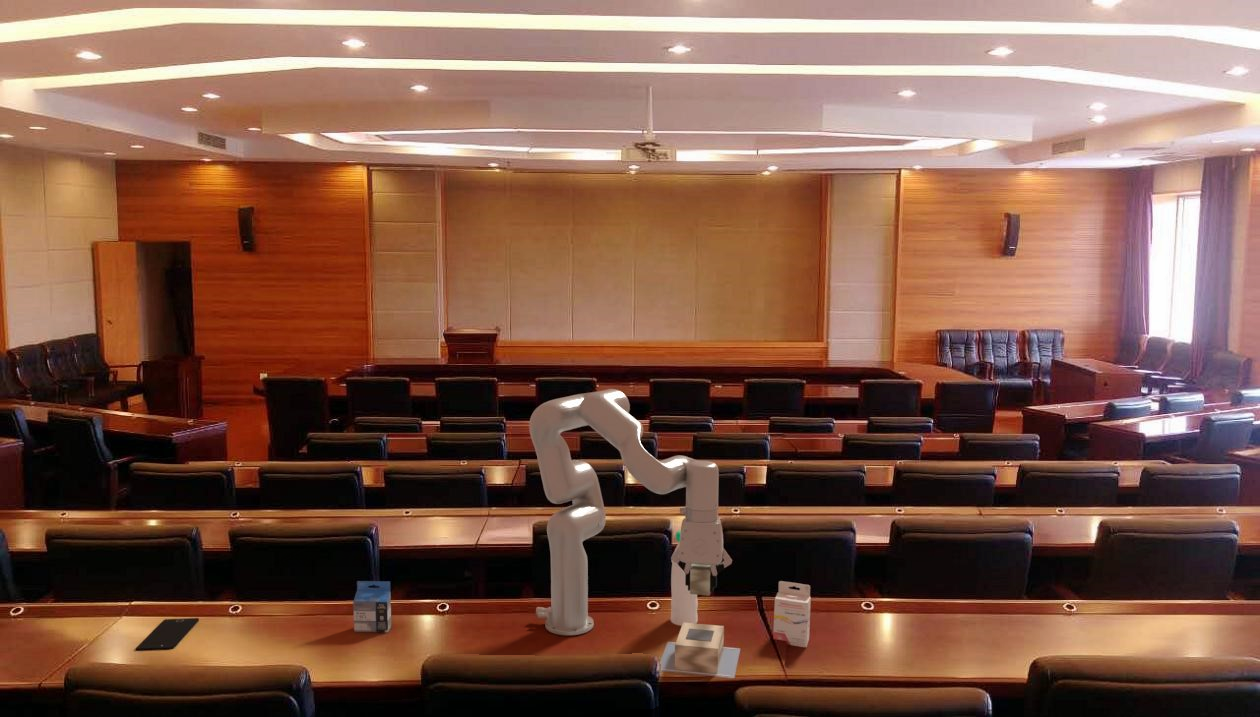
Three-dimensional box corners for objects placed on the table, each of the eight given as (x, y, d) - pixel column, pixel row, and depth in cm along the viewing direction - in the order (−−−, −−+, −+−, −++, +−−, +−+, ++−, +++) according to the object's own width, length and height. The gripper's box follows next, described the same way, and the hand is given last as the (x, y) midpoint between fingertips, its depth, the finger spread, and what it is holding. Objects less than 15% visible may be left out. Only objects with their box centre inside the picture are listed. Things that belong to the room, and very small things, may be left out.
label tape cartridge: (353, 632, 237) (351, 586, 236) (357, 626, 241) (356, 580, 240) (388, 633, 237) (386, 586, 236) (391, 626, 241) (390, 581, 240)
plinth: (674, 669, 216) (674, 644, 215) (682, 645, 228) (683, 622, 228) (717, 673, 214) (717, 648, 213) (723, 649, 226) (723, 625, 226)
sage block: (689, 593, 217) (690, 569, 216) (692, 586, 222) (692, 562, 221) (709, 595, 216) (709, 570, 215) (711, 588, 221) (712, 564, 220)
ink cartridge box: (772, 643, 233) (773, 586, 231) (776, 635, 237) (777, 580, 235) (806, 648, 230) (808, 591, 228) (809, 640, 234) (811, 584, 233)
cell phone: (199, 621, 245) (199, 617, 245) (173, 650, 227) (172, 647, 227) (164, 622, 244) (164, 619, 244) (135, 652, 226) (135, 648, 226)
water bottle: (695, 630, 240) (697, 536, 237) (668, 628, 241) (669, 535, 238) (699, 619, 247) (700, 528, 244) (672, 617, 248) (673, 526, 245)
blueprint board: (656, 674, 215) (656, 670, 215) (667, 645, 231) (667, 641, 231) (734, 682, 212) (734, 677, 212) (740, 652, 227) (740, 648, 227)
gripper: (663, 516, 215) (663, 592, 217) (736, 521, 211) (735, 598, 214) (668, 507, 222) (668, 581, 224) (739, 512, 219) (738, 586, 221)
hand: (701, 588), depth 219 cm, fingers closed on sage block, 4 cm apart
